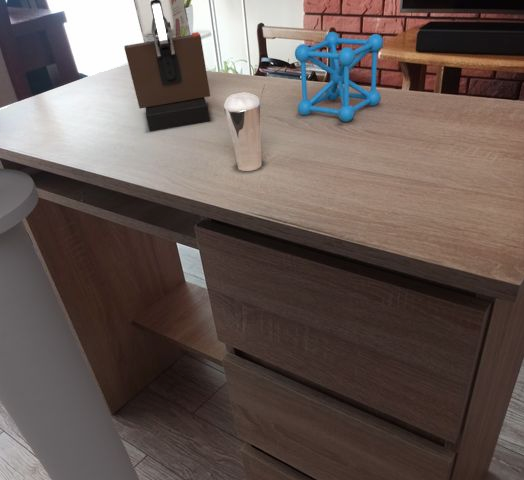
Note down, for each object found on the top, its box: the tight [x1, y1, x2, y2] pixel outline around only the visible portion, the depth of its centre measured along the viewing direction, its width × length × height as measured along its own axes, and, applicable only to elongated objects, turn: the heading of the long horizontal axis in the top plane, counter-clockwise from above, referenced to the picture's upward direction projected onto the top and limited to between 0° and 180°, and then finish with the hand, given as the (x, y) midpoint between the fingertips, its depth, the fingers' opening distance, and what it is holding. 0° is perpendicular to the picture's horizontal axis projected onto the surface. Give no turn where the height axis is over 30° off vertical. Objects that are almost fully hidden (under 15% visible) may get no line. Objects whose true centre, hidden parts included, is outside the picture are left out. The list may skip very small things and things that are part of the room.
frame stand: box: [145, 97, 210, 132], centre depth 88 cm, size 10×10×2 cm
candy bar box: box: [133, 0, 191, 43], centre depth 98 cm, size 11×5×16 cm, turn 164°
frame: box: [123, 31, 211, 109], centre depth 84 cm, size 12×2×9 cm, turn 102°
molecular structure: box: [294, 31, 384, 123], centre depth 80 cm, size 10×10×10 cm
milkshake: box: [223, 84, 266, 172], centre depth 67 cm, size 4×5×10 cm
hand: (171, 80), depth 85 cm, fingers closed
